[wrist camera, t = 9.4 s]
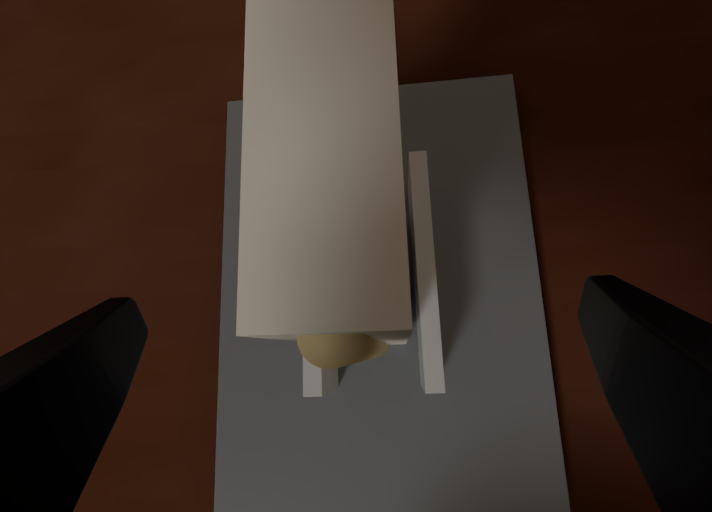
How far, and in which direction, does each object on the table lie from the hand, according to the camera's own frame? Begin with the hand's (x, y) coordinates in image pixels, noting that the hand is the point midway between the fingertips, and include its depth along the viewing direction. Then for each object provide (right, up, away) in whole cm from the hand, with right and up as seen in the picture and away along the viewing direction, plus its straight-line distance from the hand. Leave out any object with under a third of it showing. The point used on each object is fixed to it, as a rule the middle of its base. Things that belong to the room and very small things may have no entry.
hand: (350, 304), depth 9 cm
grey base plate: (+1, 0, +10) cm, 10 cm away
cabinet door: (+1, 0, +9) cm, 9 cm away
